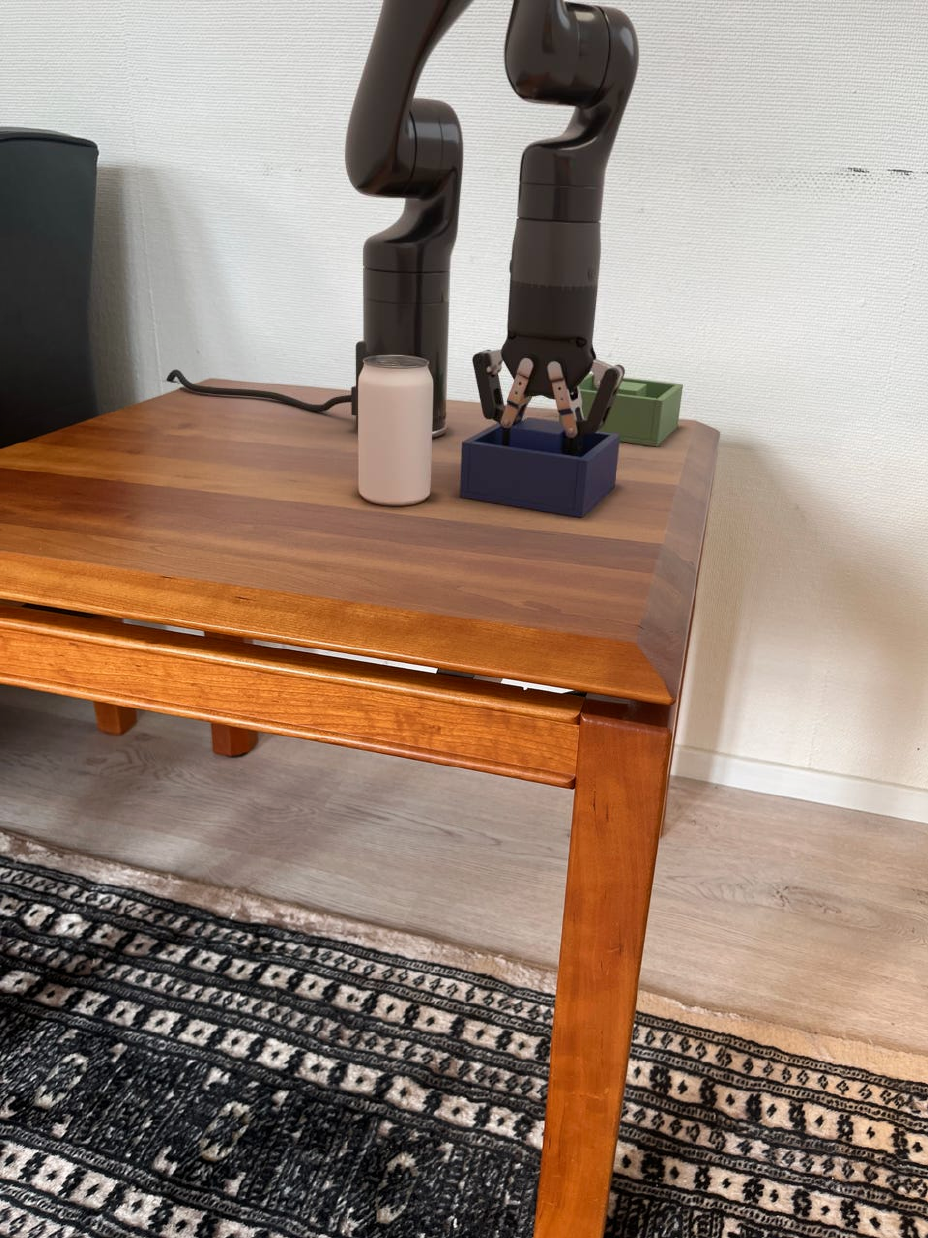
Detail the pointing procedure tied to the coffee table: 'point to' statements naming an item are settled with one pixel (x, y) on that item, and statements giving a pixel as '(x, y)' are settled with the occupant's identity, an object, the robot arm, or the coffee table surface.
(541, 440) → the navy block
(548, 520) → the coffee table surface
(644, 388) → the sage block
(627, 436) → the sage bin
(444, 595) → the coffee table surface
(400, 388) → the can
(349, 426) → the coffee table surface
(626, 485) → the coffee table surface
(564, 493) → the navy bin
